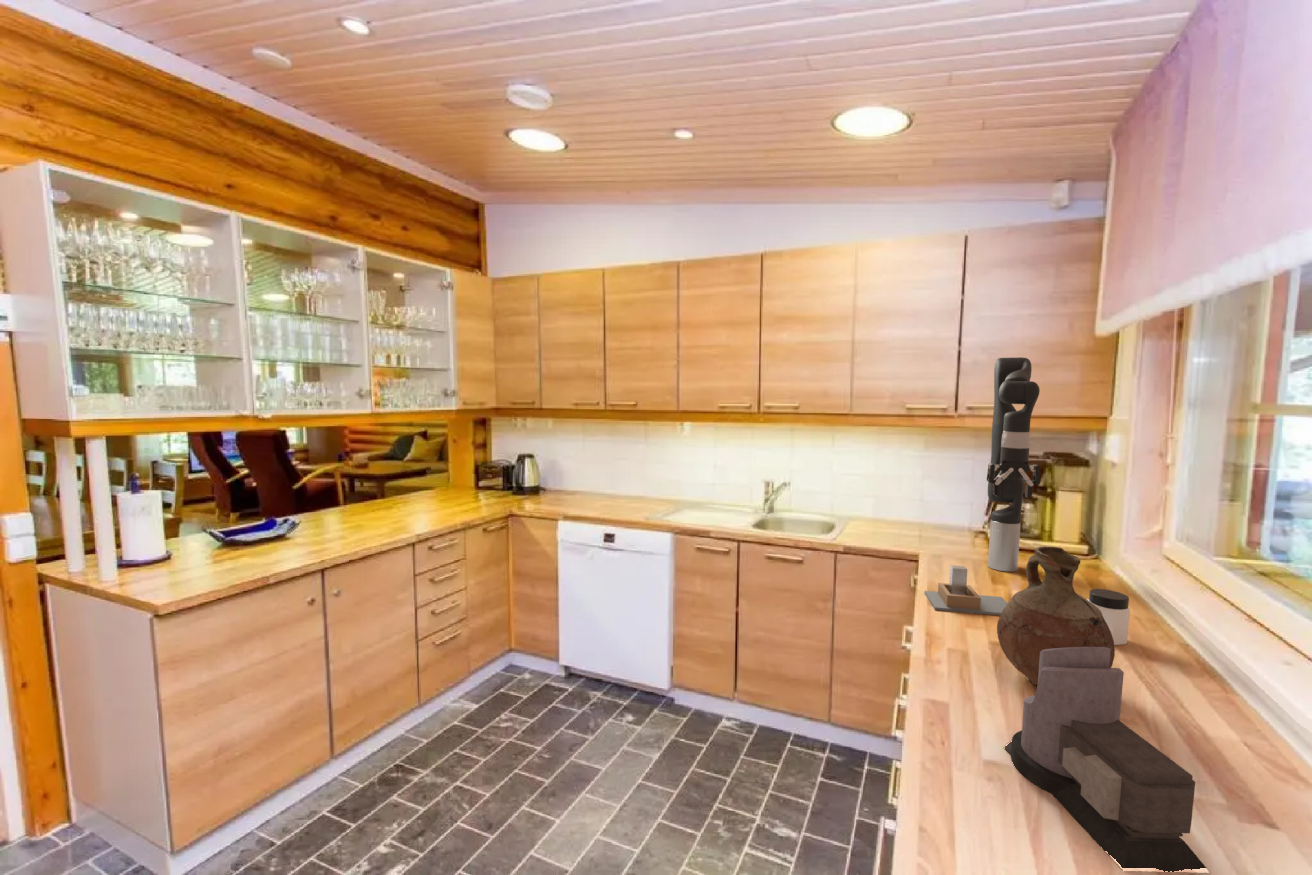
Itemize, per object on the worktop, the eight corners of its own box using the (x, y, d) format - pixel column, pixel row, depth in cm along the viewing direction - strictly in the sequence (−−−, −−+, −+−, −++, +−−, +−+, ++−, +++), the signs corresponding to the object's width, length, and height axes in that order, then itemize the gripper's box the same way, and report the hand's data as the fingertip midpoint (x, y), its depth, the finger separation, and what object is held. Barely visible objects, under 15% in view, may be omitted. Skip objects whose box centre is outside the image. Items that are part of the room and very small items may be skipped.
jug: (1056, 716, 116) (1067, 570, 113) (971, 666, 137) (978, 541, 134) (1136, 701, 122) (1149, 562, 119) (1043, 655, 143) (1052, 535, 140)
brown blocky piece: (988, 737, 109) (996, 612, 107) (1074, 739, 109) (1084, 613, 107) (1107, 871, 80) (1122, 701, 77) (1227, 874, 79) (1245, 703, 77)
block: (948, 596, 179) (950, 565, 178) (962, 598, 178) (964, 566, 177) (953, 604, 173) (955, 571, 172) (968, 605, 172) (970, 572, 171)
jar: (1131, 640, 151) (1134, 595, 150) (1122, 649, 146) (1126, 602, 145) (1089, 628, 158) (1092, 585, 157) (1080, 636, 153) (1083, 592, 152)
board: (924, 593, 184) (925, 580, 184) (1001, 599, 179) (1002, 586, 179) (934, 609, 171) (935, 596, 170) (1018, 617, 166) (1019, 602, 165)
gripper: (1036, 444, 183) (1032, 495, 185) (986, 443, 186) (983, 493, 188) (1046, 447, 175) (1042, 500, 177) (993, 446, 179) (990, 498, 181)
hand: (1011, 496), depth 183 cm, fingers open, 8 cm apart
